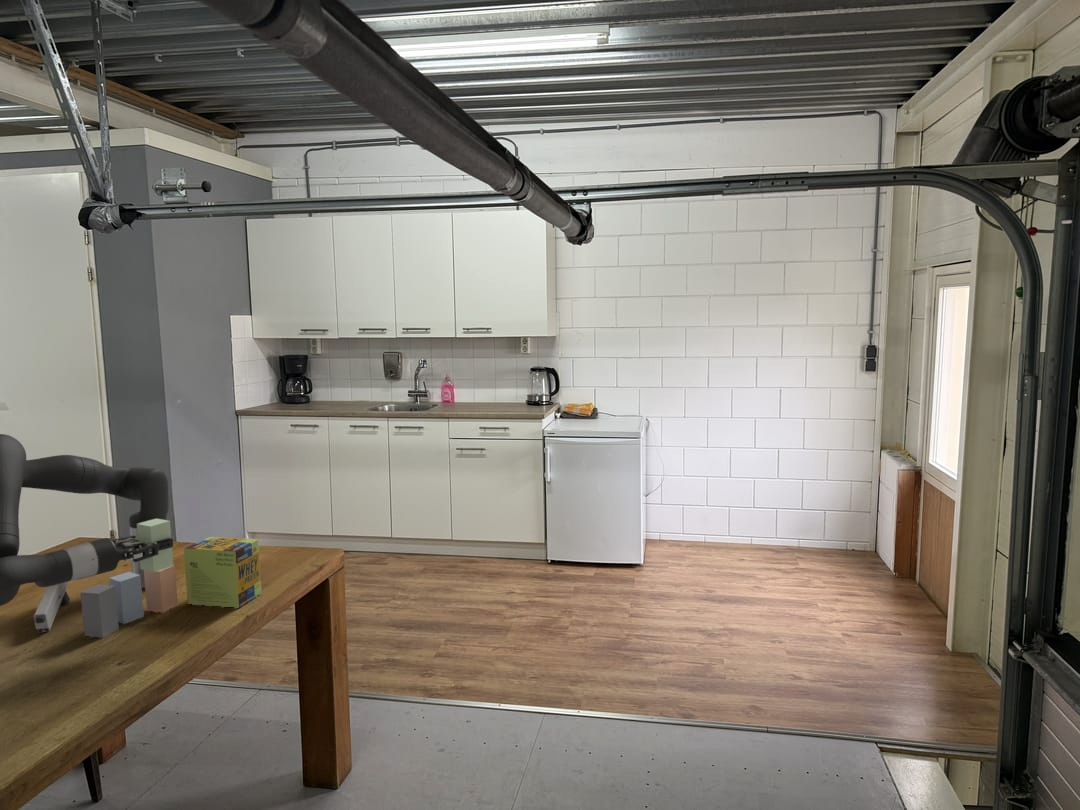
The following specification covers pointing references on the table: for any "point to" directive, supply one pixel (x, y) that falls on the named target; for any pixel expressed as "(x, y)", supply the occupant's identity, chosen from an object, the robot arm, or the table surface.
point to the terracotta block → (161, 589)
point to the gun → (50, 606)
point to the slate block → (128, 596)
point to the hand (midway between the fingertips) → (165, 539)
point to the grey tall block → (99, 610)
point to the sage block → (151, 533)
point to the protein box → (222, 571)
